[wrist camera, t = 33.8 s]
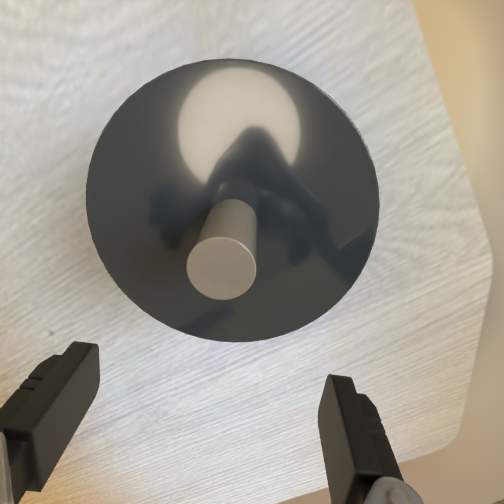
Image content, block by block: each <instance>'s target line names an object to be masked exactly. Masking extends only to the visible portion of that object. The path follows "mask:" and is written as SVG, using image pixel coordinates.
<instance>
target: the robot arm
mask: <svg viewBox="0 0 504 504" xmlns="http://www.w3.org/2000/svg"><path fill="white" fill-rule="evenodd" d="M99 383H100V366H99V347H98V345H97V344H93V343H85V342H77V341H74V342H73V343H71V345H70V346H69V347H68V348H67V349H66V351H65V352H64V353H63V354H62V355H53V356H51V357H50V358H48V359H46V360H45V361H43V362H42V363H40V364H39V365H38V366H37V367H36V368H35V369H34V370H33V372H32V373H31V374H30V375H29V376H28V379H26V380H25V381H24V382H23V383H22V384H21V385H20V388H19V389H17V390H16V391H15V392H14V393H13V395H12V396H11V397H10V398H9V399H8V400H7V402H6V403H5V404H4V405H3V406H2V407H1V408H0V504H18V503H19V501H20V500H21V498H22V497H23V495H24V493H25V492H26V490H27V491H36V492H41V490H42V489H43V487H44V485H45V483H46V482H47V480H48V478H49V477H50V475H51V473H52V471H53V470H54V468H55V466H56V464H57V463H58V461H59V459H60V457H61V456H62V454H63V452H64V451H65V449H66V447H67V445H68V444H69V442H70V440H71V438H72V437H73V435H74V433H75V431H76V430H77V428H78V426H79V425H80V423H81V421H82V419H83V418H84V416H85V414H86V412H87V411H88V409H89V407H90V405H91V404H92V402H93V400H94V398H95V397H96V394H97V391H98V388H99ZM318 427H319V433H320V439H321V445H322V451H323V456H324V462H325V468H326V474H327V479H328V485H329V491H330V497H331V503H332V504H424V503H423V501H422V499H421V497H420V496H419V495H418V494H417V492H416V491H415V490H414V489H413V488H411V486H409V485H408V484H406V483H405V482H404V480H403V478H402V475H401V473H400V470H399V467H398V465H397V462H396V459H395V457H394V454H393V451H392V449H391V446H390V443H389V441H388V438H387V435H385V430H384V427H383V425H382V424H381V419H380V417H379V414H378V411H377V409H376V407H375V405H374V404H373V403H372V402H371V401H370V399H369V398H368V397H367V396H366V394H358V393H357V392H356V389H355V386H354V383H353V380H352V378H351V377H347V376H339V375H332V374H329V375H328V376H327V379H326V383H325V387H324V390H323V394H322V398H321V401H320V405H319V410H318Z"/></svg>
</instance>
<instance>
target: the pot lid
mask: <svg viewBox="0 0 504 504" xmlns="http://www.w3.org/2000/svg"><path fill="white" fill-rule="evenodd" d="M379 207H380V203H379V187H378V181H377V177H376V172H375V167H374V164H373V161H372V159H371V156H370V153H369V150H368V147H367V146H366V144H365V142H364V140H363V138H362V136H361V134H360V132H359V131H358V129H357V127H356V126H355V125H354V123H353V122H352V121H351V119H350V118H349V117H348V115H347V114H346V112H345V111H344V110H343V109H342V108H341V107H340V106H339V105H338V104H337V103H336V102H335V101H334V100H333V99H332V98H331V97H330V96H328V95H327V94H326V93H325V92H323V91H322V90H321V89H319V88H318V87H317V86H315V85H314V84H313V83H311V82H309V81H307V80H306V79H304V78H302V77H300V76H298V75H297V74H295V73H293V72H290V71H287V70H285V69H282V68H280V67H277V66H274V65H271V64H267V63H262V62H257V61H253V60H244V59H229V58H226V59H214V60H204V61H200V62H195V63H191V64H187V65H183V66H181V67H178V68H176V69H173V70H171V71H168V72H166V73H163V74H161V75H160V76H158V77H156V78H155V79H153V80H151V81H150V82H148V83H146V84H145V85H143V86H142V87H141V88H140V89H138V90H137V91H136V92H135V93H133V94H132V95H131V96H130V97H129V98H128V99H127V100H126V101H125V102H124V103H123V104H122V105H121V106H120V107H119V109H118V110H117V111H116V112H115V113H114V114H113V116H112V117H111V119H110V120H109V122H108V123H107V125H106V126H105V128H104V129H103V131H102V134H101V136H100V138H99V140H98V142H97V144H96V146H95V149H94V152H93V155H92V159H91V162H90V165H89V171H88V177H87V184H86V208H87V216H88V223H89V227H90V231H91V235H92V239H93V242H94V244H95V247H96V249H97V252H98V254H99V257H100V259H101V260H102V262H103V264H104V266H105V268H106V269H107V271H108V273H109V274H110V276H111V277H112V278H113V280H114V281H115V283H116V284H117V285H118V287H119V288H120V289H121V290H122V291H123V292H124V293H125V294H126V295H127V296H128V298H129V299H130V300H132V301H133V302H134V303H135V304H136V305H137V306H138V307H140V308H141V309H142V310H143V311H145V312H146V313H148V314H149V315H150V316H152V317H153V318H155V319H156V320H158V321H160V322H162V323H164V324H165V325H167V326H169V327H171V328H173V329H176V330H178V331H181V332H183V333H186V334H189V335H192V336H196V337H199V338H203V339H208V340H214V341H222V342H253V341H259V340H266V339H270V338H274V337H278V336H281V335H285V334H287V333H290V332H292V331H295V330H297V329H300V328H301V327H303V326H305V325H307V324H309V323H311V322H313V321H314V320H316V319H317V318H319V317H320V316H322V315H323V314H325V313H326V312H327V311H328V310H330V309H331V308H332V307H333V306H334V305H335V304H336V303H338V302H339V301H340V300H341V298H342V297H343V296H344V295H345V294H346V293H347V292H348V291H349V289H350V288H351V287H352V285H353V284H354V283H355V281H356V280H357V278H358V277H359V275H360V274H361V272H362V270H363V268H364V266H365V264H366V262H367V260H368V258H369V255H370V252H371V250H372V247H373V244H374V241H375V237H376V232H377V227H378V220H379Z"/></svg>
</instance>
